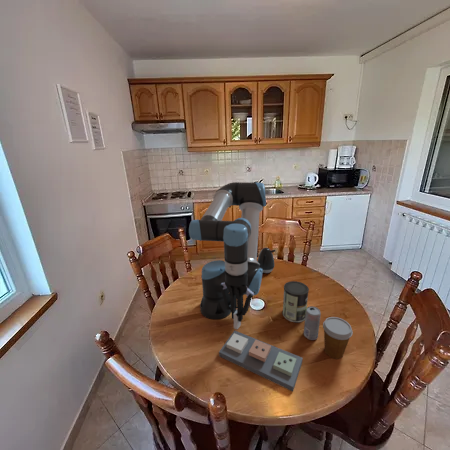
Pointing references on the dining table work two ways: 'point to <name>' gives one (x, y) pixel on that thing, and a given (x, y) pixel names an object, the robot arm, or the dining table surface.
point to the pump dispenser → (266, 260)
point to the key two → (260, 350)
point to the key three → (284, 363)
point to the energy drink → (312, 323)
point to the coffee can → (295, 301)
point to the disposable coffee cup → (336, 336)
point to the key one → (237, 343)
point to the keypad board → (262, 363)
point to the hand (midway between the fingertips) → (237, 326)
